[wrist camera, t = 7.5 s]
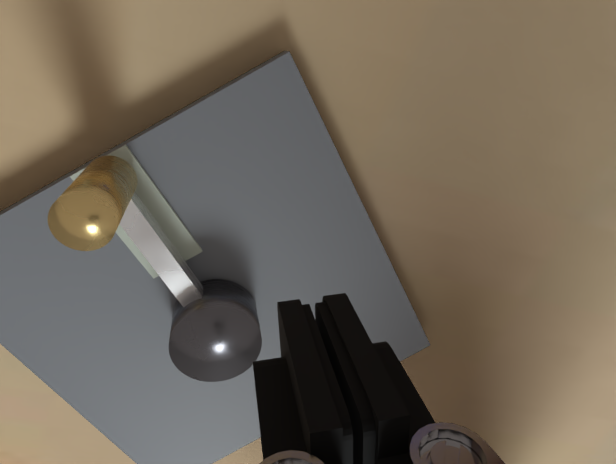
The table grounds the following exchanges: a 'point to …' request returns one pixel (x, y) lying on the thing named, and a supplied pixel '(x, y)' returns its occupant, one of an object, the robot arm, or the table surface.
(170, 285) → the lever
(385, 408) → the robot arm
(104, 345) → the dial plate
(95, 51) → the table surface
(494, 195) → the table surface
